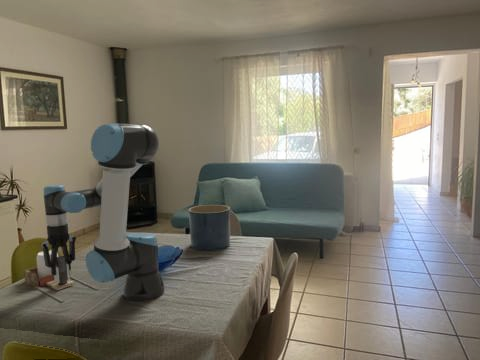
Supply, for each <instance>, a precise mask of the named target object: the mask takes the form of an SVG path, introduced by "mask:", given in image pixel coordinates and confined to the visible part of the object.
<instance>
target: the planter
mask: <svg viewBox="0 0 480 360" xmlns="http://www.w3.org/2000/svg"><path fill="white" fill-rule="evenodd" d="M188 219H189V220H188V221H189V222H188V223H189V232H190V233H189V235H190V246H191V248H192V249H195V250H197V251H198V250H199V251H207V252H208V251H210V252H211V251H218V250H223V249H226V248H228V247H229V246H230V245H231V207H230V206H229V205H228V206H227V205H224V204H223V205H222V204H203V205H195V206H192V207H190V208H188Z"/></svg>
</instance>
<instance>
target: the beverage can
mask: <svg viewBox="0 0 480 360" xmlns="http://www.w3.org/2000/svg"><path fill="white" fill-rule="evenodd" d="M51 251H52V250H51V249H49V255H50V261H51ZM57 257H59V253H58V252H57ZM36 267H37V268H38V279H37V280H38V282H40V279H39V278H42V277H45V276H48V275H52V273H51V267H50V268H49V267H47V266H46V265H45V260H44V254H43V250H42V251H40V252H38V253H37V255H36Z"/></svg>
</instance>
